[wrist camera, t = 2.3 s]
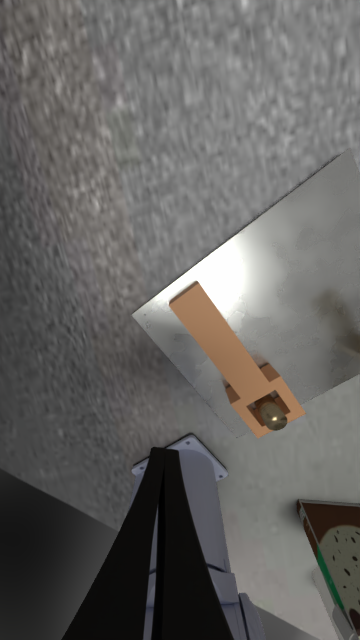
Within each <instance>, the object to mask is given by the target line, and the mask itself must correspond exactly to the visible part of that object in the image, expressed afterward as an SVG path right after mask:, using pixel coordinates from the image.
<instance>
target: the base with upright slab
mask: <svg viewBox="0 0 360 640" xmlns="http://www.w3.org/2000/svg"><path fill="white" fill-rule="evenodd" d="M312 576H313V580H314V582H315V584H316V587H317V589H318V591H319V594H320V596H321V599H322V601H323V603H324V606H325V608H326V610H327V613H328V615H329V617H330V620H331V622H332V625H333V627H334V629H335V632H336V634H337V636H338V639H339V640H344V639H343V637H342V635H341V633H340V631H339V629H338V628H337V626H336V624H335V622H334V620H333V617H332V612H333V609H334V607H335V605H334V603H333V600H332V598H331V595H330V593H329V590H328V588H327V585H326V583H325V580H324V577H323V575H322V572H321V570H320V567H319V566H318V567H316V569H315V570H314V571H313V574H312Z"/></svg>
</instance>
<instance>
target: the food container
mask: <svg viewBox="0 0 360 640" xmlns="http://www.w3.org/2000/svg"><path fill="white" fill-rule="evenodd" d="M297 512H298V515H299V517H300V520H301V522H302V525H303V527H304V530H305V532H306V535H307V537H308V540H309V542H310V545H311V547H312V550H313V552H314V555H315V557H316V560H317V562H318V565H319V567H320V570H321V572H322V575H323V577H324V580H325V583H326V585H327V588H328V590H329V593H330V595H331V598H332V600H333V603H334V605H335V607H334V609H333V612H332V617H333V620H334V622H335V624H336V626H337V628H338V629H339V631H340V633H341V635H342V637H343V639H344V640H360V504H354V503H341V502H328V501H314V500H301V499H298V502H297Z"/></svg>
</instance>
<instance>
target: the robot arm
mask: <svg viewBox="0 0 360 640" xmlns="http://www.w3.org/2000/svg"><path fill="white" fill-rule="evenodd" d="M132 473H133V474H134V475H135V476H136V477H135V482H134V487H133V492H132V496H131V501H130V506H129V511H128V514H127V516H126V518H125V520H124V522H123V525H122V527H121V529H120V531H119V533H118V535H117V537H116V539H115V541H114V543H113V545H112V548H111V550H110V551H109V554H108V555H107V558H106V559H105V562H104V563H103V565H102V567H101V569H100V571H99V573H98V575H97V577H96V578H95V580H94V582H93V584H92V586H91V588H90V590H89V592H88V593H87V596H86V597H85V599H84V601H83V603H82V604H81V606H80V608H79V610H78V612H77V613H76V615H75V617H74V619H73V621H72V622H71V624H70V626H69V628H68V630H67V631H66V633H65V635H64V636H63V638H62V640H266V638H265V634H264V630H263V626H262V623H261V620H260V617H259V614H258V611H257V609H256V607H255V606H254V605H253V603H252V602H251V601H250V600H249V597H248V595H247V594H246V593H239V595H238V591H237V586H236V580H235V574H234V573H231V569H230V563H229V557H228V550H227V544H226V538H225V532H224V526H223V520H222V514H221V508H220V502H219V496H218V490H217V484H216V482H217V481H219V480H221V479H223V478H225V477H227V476H228V471H227V470H226V469H225V468H224V467H223V466H222V465H221V463H220V462H219V461H218V460H217V459H216V458H215V457H214V456H213V455H212V454H211V453H210V452H209V451H208V450H207V449H206V448H205V447H204V445H203V444H202V443H201V442H200V441H199V440H198V439H197V438H196V437H195V436H194V435H189V436H187V437H185V438H183V439H182V440H180V441H178V442H176V443H174V444H173V445H171V446H169V447H167V448H166V449H165V448H158V447H153V448H151V452H150V456H149V458H148V459H146V460H144V461H142V462H141V463H139V464H137V465H135V466H133V468H132Z"/></svg>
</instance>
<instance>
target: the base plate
mask: <svg viewBox="0 0 360 640" xmlns="http://www.w3.org/2000/svg"><path fill="white" fill-rule="evenodd" d="M195 281H198V282H199V283H200V285H201V286H202V287H203V289H204V290H205V292H206V293H207V295H208V296H209V297H210V299H211V300H212V302H213V303H214V305H215V306H216V307H217V309H218V310H219V312H220V313H221V315H222V316H223V317H224V319H225V320H226V322H227V323H228V325H229V326H230V327H231V329H232V330H233V332H234V333H235V335H236V336H237V337H238V339H239V340H240V342H241V343H242V344H243V346H244V347H245V349H246V350H247V352H248V353H249V354H250V356H251V357H252V359H253V360H254V362H255V363H256V364H257V366H258V367H259V369H261V368H262V367H264V366H266V365H268V364H269V363H270V365H271V366H272V367H273V368H274V369H275V370H276V371H277V372H278V373H279V375H280V376H281V377H282V379H283V380H284V382H285V383H286V385H287V386H288V388H289V389H290V391H291V392H292V394H293V395H294V397H295V398H296V399H297V401H298V402H299V404H300V405H301V404H303V403H305V402H307V401H309V400H311V399H313V398H314V397H316V396H318V395H320V394H322V393H324V392H326V391H328V390H330V389H332V388H333V387H335V386H337V385H339V384H341V383H343V382H345V381H347V380H349V379H351V378H353V377H354V376H356V375H358V374H360V173H359V170H358V167H357V165H356V162H355V159H354V157H353V154H352V151H351V148H349V149H347V150H346V151H345V152H343V153H342V154H340V155H339V156H338V157H336V158H335V159H334V160H332V161H331V162H330V163H328V164H327V165H326V166H325V167H323V168H322V169H321V170H319V171H318V172H317V173H315V174H314V175H313V176H311V177H310V178H309V179H308V180H306V181H305V182H304V183H302V184H301V185H300V186H298V187H297V188H296V189H294V190H293V191H292V192H291V193H289V194H288V195H287V196H285V197H284V198H283V199H281V200H280V201H279V202H277V203H276V204H275V205H274V206H272V207H271V208H270V209H268V210H267V211H266V212H264V213H263V214H262V215H260V216H259V217H258V218H257V219H255V220H254V221H253V222H251V223H250V224H249V225H247V226H246V227H245V228H243V229H242V230H241V231H240V232H238V233H237V234H236V235H234V236H233V237H232V238H230V239H229V240H228V241H226V242H225V243H224V244H223V245H221V246H220V247H219V248H217V249H216V250H215V251H213V252H212V253H211V254H210V255H208V256H207V257H206V258H204V259H203V260H202V261H200V262H199V263H198V264H196V265H195V266H194V267H193V268H191V269H190V270H189V271H187V272H186V273H185V274H183V275H182V276H181V277H179V278H178V279H177V280H176V281H174V282H173V283H172V284H170V285H169V286H168V287H166V288H165V289H164V290H162V291H161V292H160V293H159V294H157V295H156V296H155V297H153V298H152V299H151V300H149V301H148V302H147V303H145V304H144V305H143V306H142V307H140V308H139V309H138V310H136V311H135V312H134V313H133V314H132V316H133V318H134V319H135V320H136V321H137V322H138V323H139V325H140V326H141V327H142V328H143V329H144V330H145V332H146V333H147V334H148V335H149V336H150V337H151V339H152V340H153V341H154V342H155V343H156V344H157V346H158V347H159V348H160V349H161V350H162V351H163V353H164V354H165V355H166V356H167V357H168V358H169V360H170V361H171V362H172V363H173V364H174V365H175V367H176V368H177V369H178V370H179V371H180V372H181V374H182V375H183V376H184V377H185V378H186V379H187V381H188V382H189V383H190V384H191V385H192V386H193V388H194V389H195V390H196V391H197V392H198V393H199V395H200V396H201V397H202V398H203V399H204V400H205V402H206V403H207V404H208V405H209V406H210V407H211V409H212V410H213V411H214V412H215V413H216V414H217V416H218V417H219V418H220V419H221V420H222V421H223V423H224V424H225V425H226V426H227V427H228V428H229V430H230V431H231V432H232V433H233V434H234V435H235V437H236V438H238V437H240V436H242V435H244V434H246V433H248V432H250V431H252V430H251V429H250V428H249V427H248V425H247V424H246V423H245V422H244V421H243V419H242V418H241V417H240V416H239V414H238V413H237V412H236V411H235V409H234V408H233V407H232V406H231V405H230V402H229V399H228V396H227V393H226V391H225V389H227V388H229V387H230V386H231V385H230V384H229V382H228V381H227V380H226V379H225V377H224V376H223V375H222V373H221V372H220V371H219V370H218V368H217V367H216V366H215V364H214V363H213V362H212V361H211V359H210V358H209V357H208V356H207V354H206V353H205V352H204V350H203V349H202V348H201V347H200V345H199V344H198V343H197V341H196V340H195V339H194V338H193V336H192V335H191V334H190V332H189V331H188V330H187V329H186V327H185V326H184V325H183V323H182V322H181V321H180V320H179V318H178V317H177V316H176V315H175V313H174V312H173V311H172V309H171V308H170V307H169V302H170V300H171V299H173V298H174V297H175V296H177V295H178V294H179V293H181V292H182V291H183V290H185V289H186V288H187V287H189V286H190V285H191V284H193V283H194V282H195ZM277 397H279V395H278V394H277V392H276V391H275V390H274V391H272V392H271V393H269V394H267V395H265V396H263V397H262V398H260V399H258V400H256V401H254V402H253V403H251V404H249V405H250V406H251V408H252V409H253V410H255V409H257V410H258V412H259V413H260V415H261V417H262V419H263V421H264V423H265V425H266V427H267V428H268V429H270V430H280V429H282V428H284V427H285V426H286V424H287V421H288V420H287V417H286V416H285V414H284V413H283V412H282V410H281V409H280V407H279V406H278V404H277V403H276V401H275V400H274V399H275V398H277Z"/></svg>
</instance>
